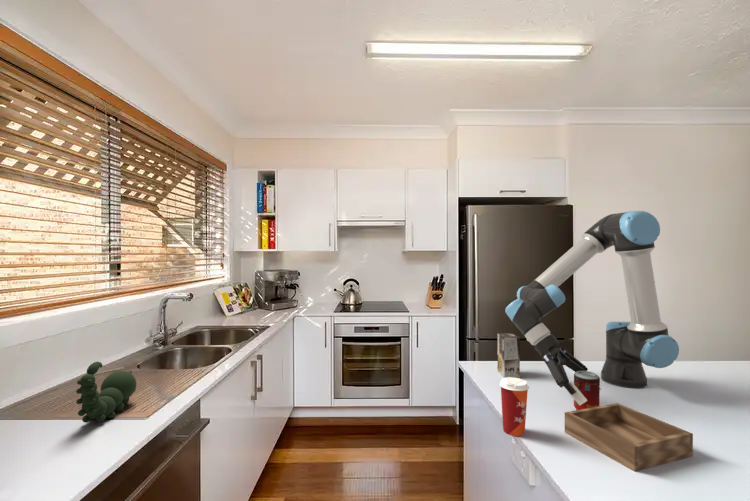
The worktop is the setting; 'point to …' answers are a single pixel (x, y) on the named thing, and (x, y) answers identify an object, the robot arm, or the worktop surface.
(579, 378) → the soda can
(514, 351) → the coffee box
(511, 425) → the paper cup
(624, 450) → the walnut box
